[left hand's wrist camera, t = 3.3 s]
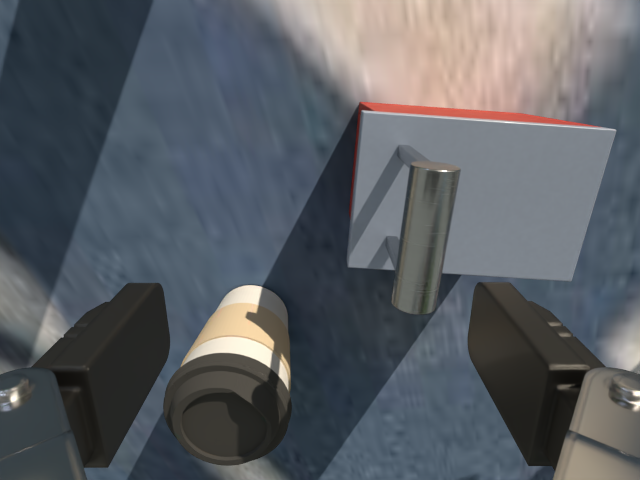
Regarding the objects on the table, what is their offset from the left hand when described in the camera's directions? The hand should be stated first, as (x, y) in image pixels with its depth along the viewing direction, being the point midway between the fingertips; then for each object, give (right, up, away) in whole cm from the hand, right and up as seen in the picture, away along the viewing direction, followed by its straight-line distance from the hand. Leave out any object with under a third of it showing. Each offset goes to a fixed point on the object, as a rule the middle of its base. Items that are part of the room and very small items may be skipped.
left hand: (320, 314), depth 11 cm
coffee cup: (-7, -6, +32) cm, 33 cm away
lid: (+9, +5, +16) cm, 19 cm away
